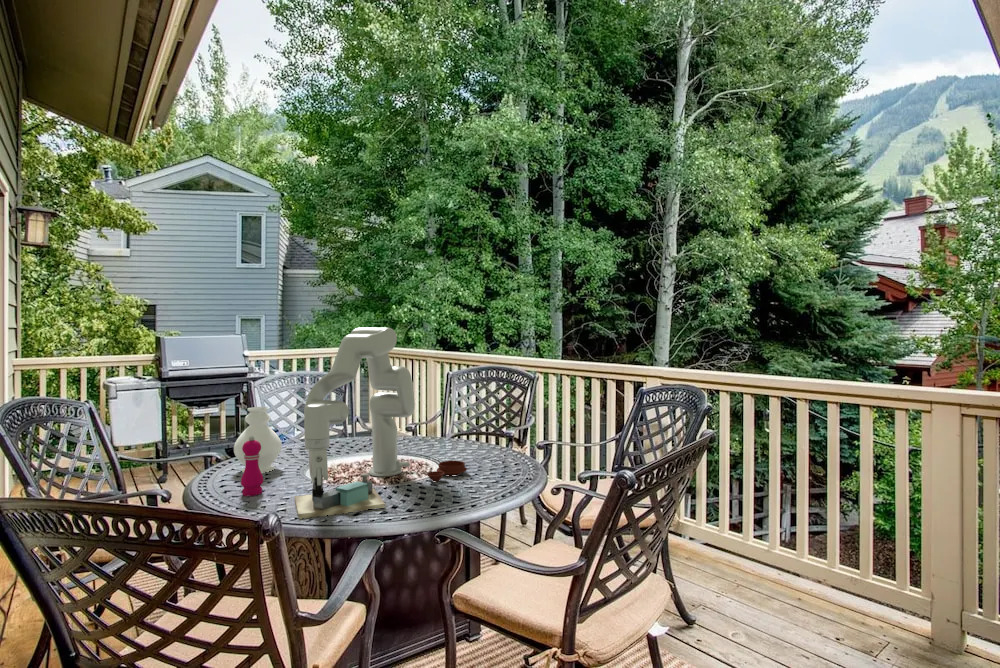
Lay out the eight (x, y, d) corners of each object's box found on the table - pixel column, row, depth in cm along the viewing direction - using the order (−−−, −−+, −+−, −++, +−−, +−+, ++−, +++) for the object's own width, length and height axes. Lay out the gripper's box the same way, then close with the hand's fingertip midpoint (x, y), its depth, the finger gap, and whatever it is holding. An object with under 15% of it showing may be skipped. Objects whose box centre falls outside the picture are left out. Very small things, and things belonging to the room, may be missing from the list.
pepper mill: (245, 490, 208) (244, 434, 208) (266, 490, 209) (265, 433, 209) (237, 496, 201) (237, 438, 201) (259, 496, 202) (259, 437, 201)
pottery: (472, 473, 232) (472, 462, 232) (444, 485, 214) (444, 473, 214) (447, 469, 238) (447, 458, 237) (417, 481, 220) (417, 470, 220)
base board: (373, 492, 206) (373, 469, 206) (385, 508, 187) (385, 483, 187) (294, 500, 196) (294, 477, 196) (298, 519, 178) (298, 492, 177)
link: (364, 490, 202) (364, 479, 202) (375, 492, 200) (375, 481, 200) (312, 507, 183) (312, 496, 183) (323, 510, 181) (323, 498, 180)
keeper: (357, 496, 195) (357, 481, 195) (368, 499, 192) (368, 483, 192) (336, 503, 188) (335, 487, 188) (347, 506, 185) (347, 490, 185)
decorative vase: (288, 464, 247) (287, 404, 247) (272, 475, 229) (272, 411, 229) (244, 465, 247) (244, 405, 246) (226, 476, 229) (225, 411, 229)
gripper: (332, 446, 182) (333, 506, 182) (326, 438, 196) (327, 493, 196) (306, 448, 179) (307, 509, 179) (302, 440, 193) (303, 496, 193)
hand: (317, 500), depth 188 cm, fingers closed
